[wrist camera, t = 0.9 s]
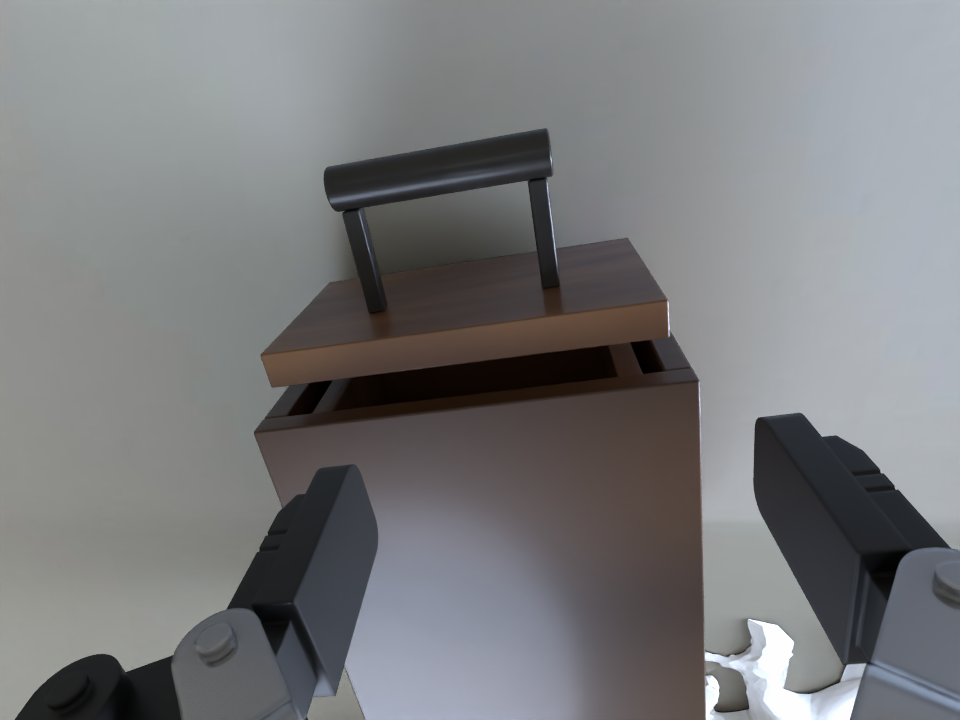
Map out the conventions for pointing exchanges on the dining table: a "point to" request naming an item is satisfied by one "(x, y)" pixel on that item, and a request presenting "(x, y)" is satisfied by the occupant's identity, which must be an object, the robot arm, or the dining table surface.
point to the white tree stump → (779, 682)
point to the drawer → (467, 295)
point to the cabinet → (522, 544)
